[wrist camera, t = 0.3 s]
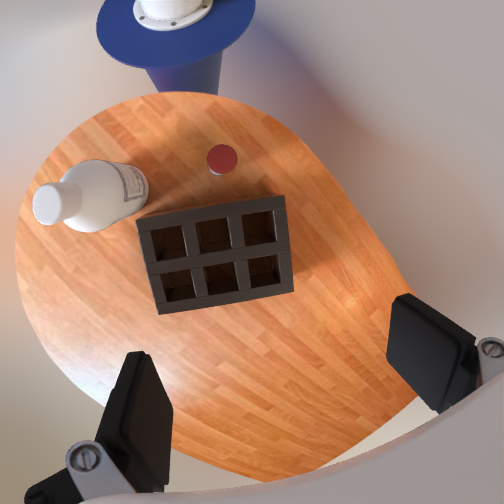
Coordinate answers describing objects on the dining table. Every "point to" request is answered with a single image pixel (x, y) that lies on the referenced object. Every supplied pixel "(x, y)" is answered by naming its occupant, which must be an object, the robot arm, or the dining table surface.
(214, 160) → the test tube
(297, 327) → the dining table surface
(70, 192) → the bath foam
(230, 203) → the rack
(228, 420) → the dining table surface
